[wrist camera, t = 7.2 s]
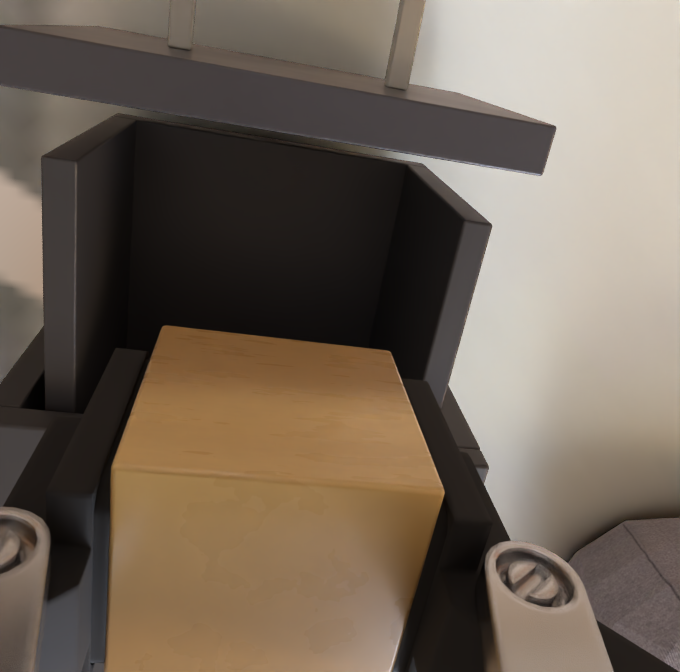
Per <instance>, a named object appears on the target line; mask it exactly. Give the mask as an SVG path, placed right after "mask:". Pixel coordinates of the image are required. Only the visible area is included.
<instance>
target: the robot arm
mask: <svg viewBox="0 0 680 672" xmlns="http://www.w3.org/2000/svg"><path fill="white" fill-rule="evenodd" d="M149 361H150V359H149V351H141V350H131V349H122V348H116V349H115V350H114V352H113V354H112V356H111V358H110V361H109V363H108V365H107V367H106V369H105V371H104V373H103V375H102V377H101V379H100V381H99V383H98V385H97V387H96V389H95V391H94V393H93V395H92V398H91V400H90V402H89V404H88V406H87V408H86V410H85V412H84V414H83V416H82V417H71V416H60V415H57V416H54V418H53V419H52V420H51V422H50V424H49V425H48V427H47V429H46V431H45V432H44V434H43V436H42V438H41V440H40V441H39V443H38V445H37V447H36V448H35V450H34V452H33V454H32V456H31V457H30V459H29V461H28V463H27V464H26V466H25V468H24V470H23V472H22V473H21V475H20V477H19V479H18V480H17V482H16V484H15V486H14V488H13V489H12V491H11V493H10V495H9V496H8V498H7V500H6V502H5V504H4V505H3V507H0V672H93V668H94V665H95V663H104V662H105V647H106V620H107V592H108V565H109V537H110V480H111V465H112V463H113V460H114V457H115V454H116V452H117V449H118V446H119V443H120V441H121V438H122V435H123V432H124V430H125V427H126V424H127V421H128V419H129V416H130V413H131V410H132V408H133V405H134V402H135V399H136V397H137V394H138V391H139V388H140V386H141V383H142V380H143V377H144V375H145V372H146V369H147V366H148V364H149ZM401 380H402V383H403V385H404V388H405V390H406V393H407V395H408V398H409V401H410V403H411V406H412V408H413V411H414V413H415V416H416V419H417V421H418V424H419V426H420V429H421V431H422V434H423V437H424V439H425V442H426V444H427V447H428V449H429V452H430V454H431V457H432V460H433V462H434V465H435V467H436V470H437V472H438V475H439V478H440V480H441V483H442V485H443V488H444V492H445V494H444V497H443V501H442V504H441V508H440V511H439V514H438V518H437V521H436V525H435V528H434V531H433V535H432V538H431V542H430V545H429V548H428V552H427V555H426V559H425V562H424V565H423V569H422V572H421V576H420V579H419V583H418V586H417V589H416V593H415V596H414V600H413V603H412V606H411V610H410V613H409V617H408V620H407V623H406V627H405V630H404V634H403V637H402V640H401V644H400V647H399V651H398V654H397V658H396V661H395V664H394V668H393V671H392V672H679V671H678V670H676V669H674V668H673V667H671V666H670V665H668V664H666V663H665V662H663V661H662V660H660V659H658V658H657V657H655V656H654V655H652V654H650V653H649V652H647V651H646V650H644V649H642V648H641V647H639V646H638V645H636V644H634V643H633V642H631V641H630V640H628V639H626V638H625V637H623V636H622V635H620V634H618V633H617V632H615V631H614V630H612V629H610V628H609V627H607V626H606V625H604V624H602V623H601V622H599V621H598V620H596V619H595V616H594V613H593V610H592V607H591V604H590V602H589V599H588V596H587V593H586V590H585V587H584V585H583V583H582V581H581V579H580V577H579V575H578V574H577V573H576V572H575V571H574V569H573V568H572V567H571V566H570V565H569V564H568V563H567V562H566V561H564V560H563V559H562V558H560V557H559V556H558V555H556V554H555V553H553V552H551V551H549V550H547V549H545V548H543V547H541V546H538V545H535V544H531V543H528V542H523V541H511V540H510V538H509V536H508V534H507V532H506V530H505V528H504V526H503V523H502V521H501V519H500V517H499V515H498V513H497V511H496V509H495V507H494V505H493V503H492V501H491V499H490V496H489V494H488V492H487V490H486V488H485V486H484V484H483V482H482V480H481V478H480V476H479V474H478V471H477V469H476V467H475V465H474V463H473V461H472V459H471V457H470V456H469V454H468V453H466V452H463V451H460V450H459V448H458V446H457V444H456V442H455V440H454V437H453V435H452V433H451V431H450V429H449V427H448V424H447V422H446V420H445V418H444V416H443V414H442V411H441V409H440V407H439V405H438V403H437V401H436V398H435V396H434V394H433V392H432V390H431V388H430V385H429V383H428V382H427V381H421V380H412V379H403V378H401Z"/></svg>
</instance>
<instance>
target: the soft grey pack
mask: <svg viewBox="0 0 680 672" xmlns="http://www.w3.org/2000/svg"><path fill="white" fill-rule="evenodd" d="M568 564H569V565H570V566H571V567H572V568H573V569H574V571H575V572H576V573H577V574H578V575H579V577H580V579H581V581H582V583H583V585H584V587H585V590H586V593H587V596H588V599H589V602H590V604H591V607H592V610H593V613H594V616H595V619H596V620H598V621H599V622H601V623H602V624H604V625H606V626H607V627H609V628H610V629H612V630H614V631H615V632H617V633H618V634H620V635H622V636H623V637H625V638H626V639H628V640H630V641H631V642H633V643H634V644H636V645H638V646H639V647H641V648H642V649H644V650H646V651H647V652H649V653H650V654H652V655H654V656H655V657H657V658H658V659H660V660H662V661H663V662H665V663H666V664H668V665H670V666H671V667H673V668H674V669H676V670H678V671H679V672H680V518H663V519H645V520H627V521H624V522H623V523H621V524H619V525H618V526H616V527H615V528H613V529H611V530H610V531H608V532H607V533H605V534H604V535H602V536H600V537H599V538H597V539H596V540H594V541H593V542H591V543H589V544H588V545H586V546H585V547H583V548H582V549H580V550H578V551H577V552H576V553H575V554H574V555H573V557H572V558H571V560H570V561H569V562H568Z"/></svg>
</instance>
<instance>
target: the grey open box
mask: <svg viewBox="0 0 680 672" xmlns="http://www.w3.org/2000/svg"><path fill="white" fill-rule="evenodd" d="M441 411H442V414H443V416H444V418H445V420H446V422H447V424H448V427H449V429H450V431H451V433H452V435H453V437H454V440H455V442H456V444H457V446H458V448H459V450H460V451H463V452H466V453H468V454H469V456H470V457H471V459H472V461H473V463H474V465H475V467H476V469H477V471H478V474H479V476H480V478H481V480H482V482H483V484H484V482H485V478H486V475H487V472H488V469H489V466H488V464H487V462H486V460H485V458H484V456H483V454H482V452H481V451H480V447H479V445H478V443H477V441H476V439H475V437H474V435H473V433H472V431H471V429H470V427H469V425H468V423H467V422H466V420H465V418H464V416H463V414H462V412H461V410H460V408H459V406H458V404H457V402H456V400H455V398H454V396H453V394H452V392H451V390H450V388H449V386H447V390H446V394H445V397H444V401H443V404H442V408H441ZM57 415H60V416H71V417H82V416H83V414H78V413H67V412H56V411H45V369H44V326H43V328H42V329H41V330H40V332H39V333H38V334H37V336H36V337H35V338H34V340H33V341H32V342H31V344H30V345H29V346H28V348H27V349H26V350H25V352H24V353H23V354H22V356H21V357H20V358H19V360H18V361H17V362H16V364H15V365H14V366H13V368H12V369H11V370H10V372H9V373H8V374H7V376H6V377H5V378H4V380H3V381H2V382H1V384H0V507H3V505H4V504H5V502H6V500H7V498H8V496H9V495H10V493H11V491H12V489H13V488H14V486H15V484H16V482H17V480H18V479H19V477H20V475H21V473H22V472H23V470H24V468H25V466H26V464H27V463H28V461H29V459H30V457H31V456H32V454H33V452H34V450H35V448H36V447H37V445H38V443H39V441H40V440H41V438H42V436H43V434H44V432H45V431H46V429H47V427H48V425H49V424H50V422H51V420H52V419H53V418H54V416H57ZM93 672H104V663H95V665H94V668H93Z"/></svg>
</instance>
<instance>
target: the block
mask: <svg viewBox="0 0 680 672" xmlns="http://www.w3.org/2000/svg"><path fill="white" fill-rule="evenodd" d="M444 494H445V492H444V488H443V485H442V483H441V480H440V478H439V475H438V472H437V470H436V467H435V465H434V462H433V460H432V457H431V454H430V452H429V449H428V447H427V444H426V442H425V439H424V437H423V434H422V431H421V429H420V426H419V424H418V421H417V419H416V416H415V413H414V411H413V408H412V406H411V403H410V401H409V398H408V395H407V393H406V390H405V388H404V385H403V383H402V380H401V377H400V375H399V372H398V370H397V367H396V365H395V362H394V359H393V357H392V354H391V352H390V351H387V350H379V349H370V348H361V347H352V346H344V345H335V344H326V343H317V342H309V341H300V340H291V339H282V338H273V337H265V336H256V335H247V334H238V333H229V332H221V331H212V330H203V329H194V328H186V327H177V326H168V325H166V326H163V327H162V328H161V331H160V333H159V336H158V339H157V342H156V344H155V347H154V350H153V353H152V355H151V358H150V361H149V364H148V366H147V369H146V372H145V375H144V377H143V380H142V383H141V386H140V388H139V391H138V394H137V397H136V399H135V402H134V405H133V408H132V410H131V413H130V416H129V419H128V421H127V424H126V427H125V430H124V432H123V435H122V438H121V441H120V443H119V446H118V449H117V452H116V454H115V457H114V460H113V463H112V465H111V480H110V537H109V565H108V592H107V620H106V647H105V662H104V672H392V671H393V668H394V664H395V661H396V658H397V654H398V651H399V647H400V644H401V640H402V637H403V634H404V630H405V627H406V623H407V620H408V617H409V613H410V610H411V606H412V603H413V600H414V596H415V593H416V589H417V586H418V583H419V579H420V576H421V572H422V569H423V565H424V562H425V559H426V555H427V552H428V548H429V545H430V542H431V538H432V535H433V531H434V528H435V525H436V521H437V518H438V514H439V511H440V508H441V504H442V501H443V497H444Z"/></svg>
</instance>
